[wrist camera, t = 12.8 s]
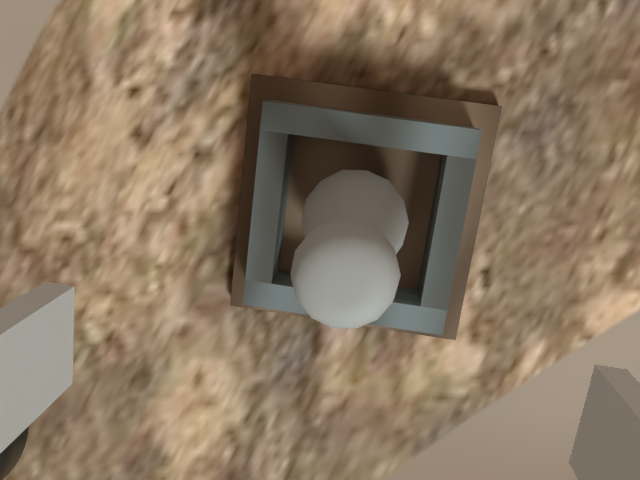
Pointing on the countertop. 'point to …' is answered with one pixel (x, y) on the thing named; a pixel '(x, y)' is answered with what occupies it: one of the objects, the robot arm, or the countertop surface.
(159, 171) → the countertop surface
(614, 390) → the robot arm
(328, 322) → the salt shaker
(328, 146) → the collar socket
